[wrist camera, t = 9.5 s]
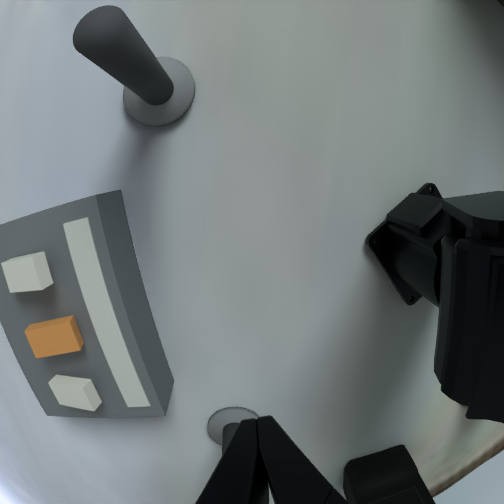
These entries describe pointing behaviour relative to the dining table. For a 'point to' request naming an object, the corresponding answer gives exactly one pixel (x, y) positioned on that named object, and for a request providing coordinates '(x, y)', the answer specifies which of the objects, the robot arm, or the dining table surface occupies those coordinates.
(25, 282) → the pale grey rectangular block
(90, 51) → the post
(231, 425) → the cable post
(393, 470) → the portable radio
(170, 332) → the dining table surface
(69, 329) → the block
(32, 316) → the board
